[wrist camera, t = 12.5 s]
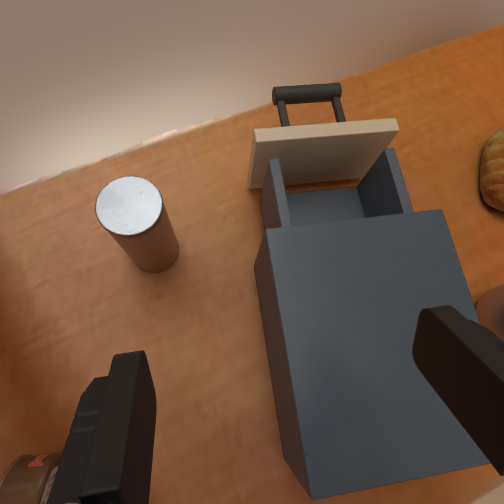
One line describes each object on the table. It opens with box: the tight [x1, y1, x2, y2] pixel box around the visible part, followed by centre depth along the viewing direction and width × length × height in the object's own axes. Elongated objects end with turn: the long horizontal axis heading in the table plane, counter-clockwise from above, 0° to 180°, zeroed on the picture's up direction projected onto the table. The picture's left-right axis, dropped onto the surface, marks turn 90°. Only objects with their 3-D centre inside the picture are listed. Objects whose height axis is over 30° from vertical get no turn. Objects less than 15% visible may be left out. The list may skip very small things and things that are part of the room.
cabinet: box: [254, 209, 490, 500], centre depth 27 cm, size 16×13×9 cm
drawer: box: [248, 83, 414, 229], centre depth 30 cm, size 20×12×8 cm, turn 9°
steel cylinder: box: [95, 176, 179, 272], centre depth 28 cm, size 4×4×10 cm
